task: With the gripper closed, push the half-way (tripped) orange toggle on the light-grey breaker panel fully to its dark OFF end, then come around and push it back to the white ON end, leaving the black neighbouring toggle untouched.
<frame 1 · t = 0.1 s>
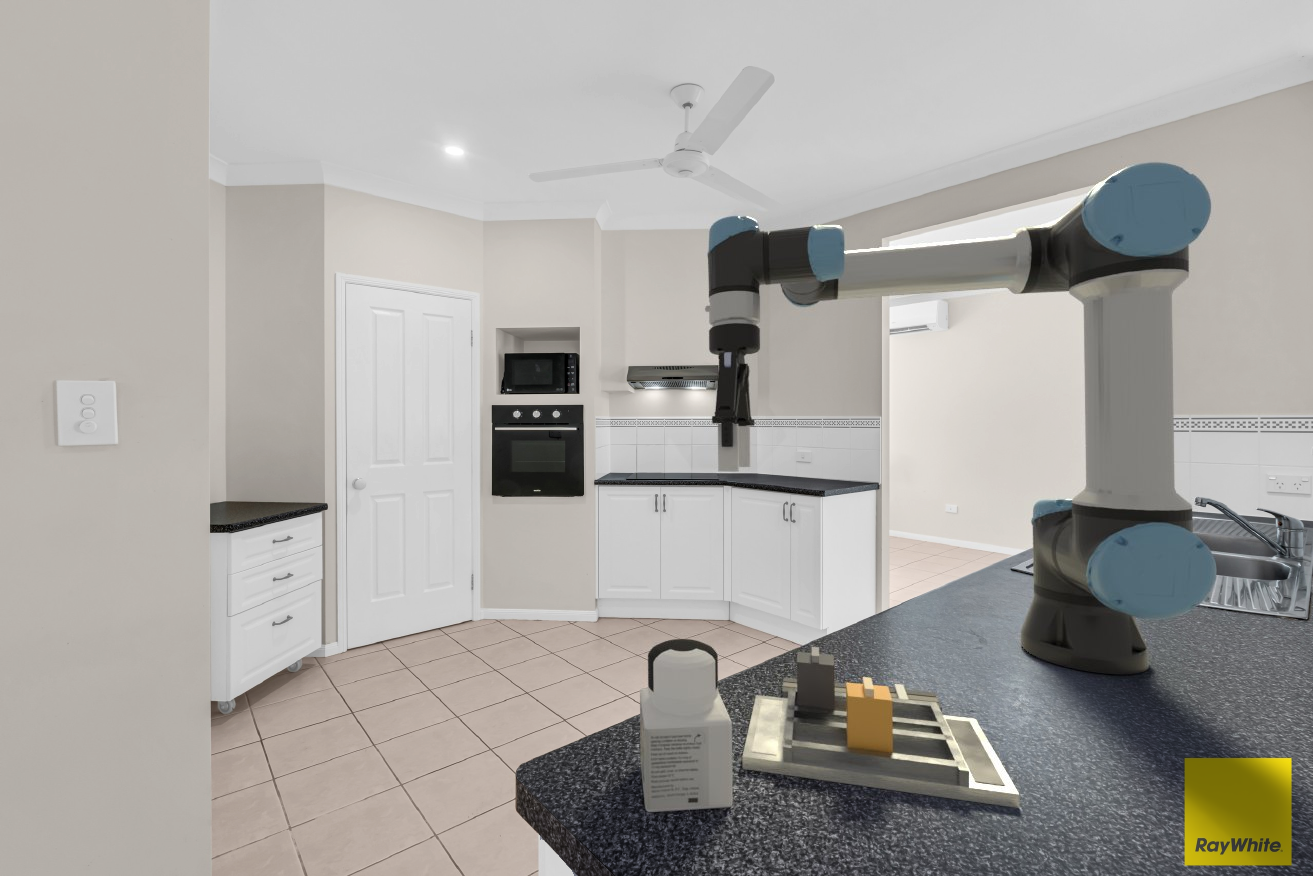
hand: (735, 469, 85), 28 cm above the countertop, fingers open, 13 cm apart
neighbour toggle: (815, 681, 65), point 5 cm above the countertop, slide at 10.0 cm
strapped plank bundle: (858, 701, 70), on the countertop
panel: (866, 748, 60), on the countertop
tripped toggle: (868, 717, 56), point 5 cm above the countertop, slide at 5.0 cm
container: (683, 787, 54), on the countertop
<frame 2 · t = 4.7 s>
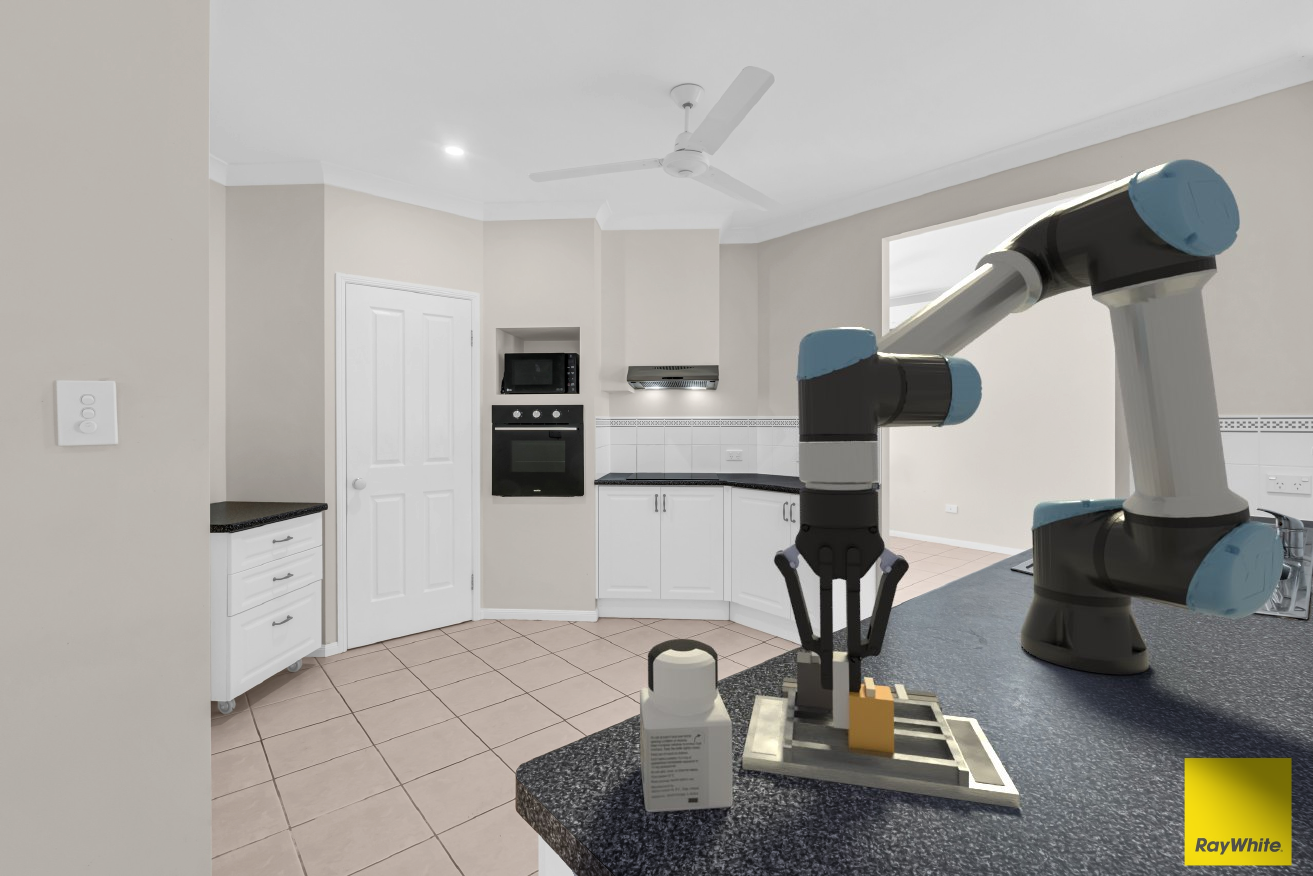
hand: (841, 721, 57), 4 cm above the countertop, fingers closed
tripped toggle: (869, 717, 56), point 5 cm above the countertop, slide at 4.9 cm, touching gripper
everything else where it was.
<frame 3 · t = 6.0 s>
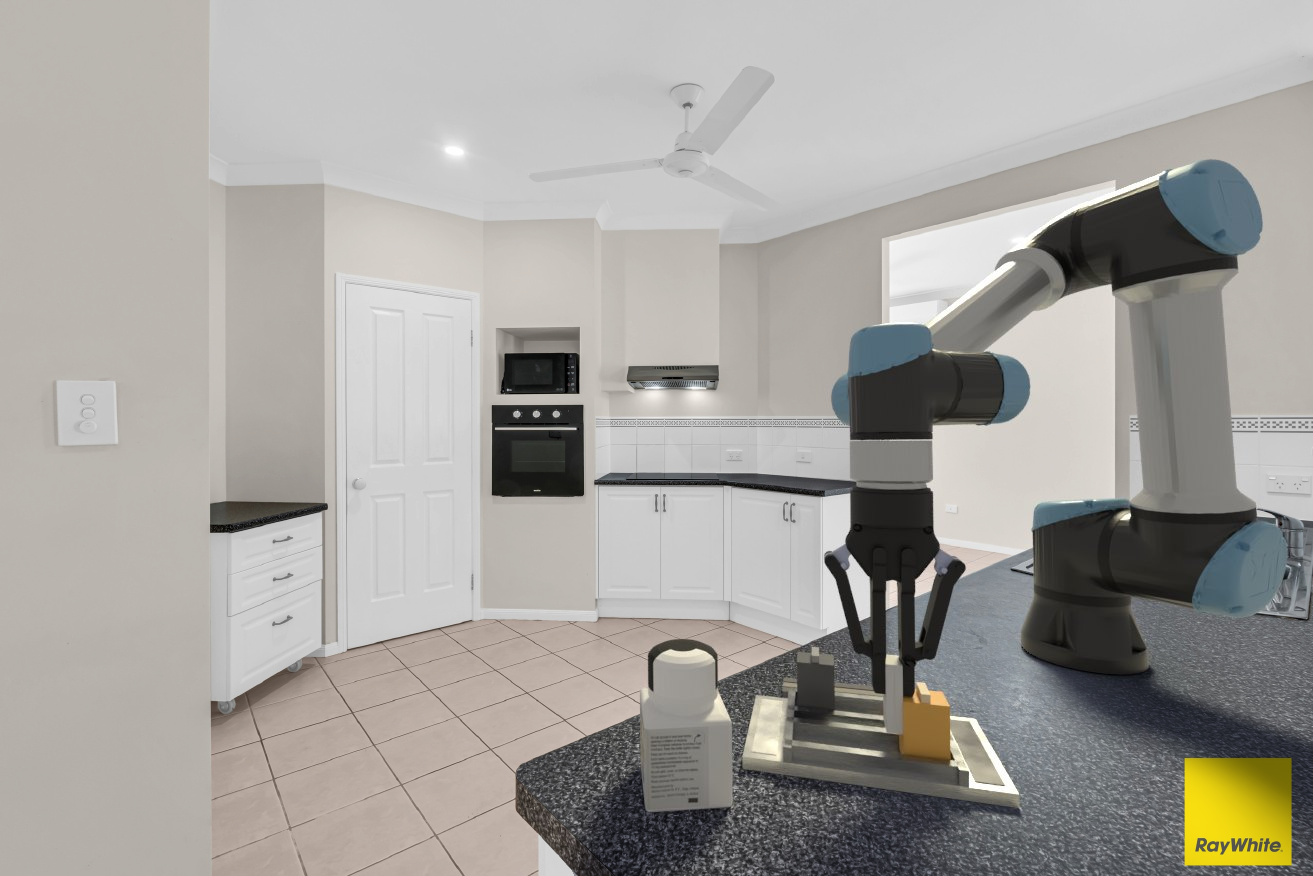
hand: (893, 726, 56), 4 cm above the countertop, fingers closed
tripped toggle: (923, 723, 55), point 5 cm above the countertop, slide at 0.0 cm, touching gripper
everything else where it was.
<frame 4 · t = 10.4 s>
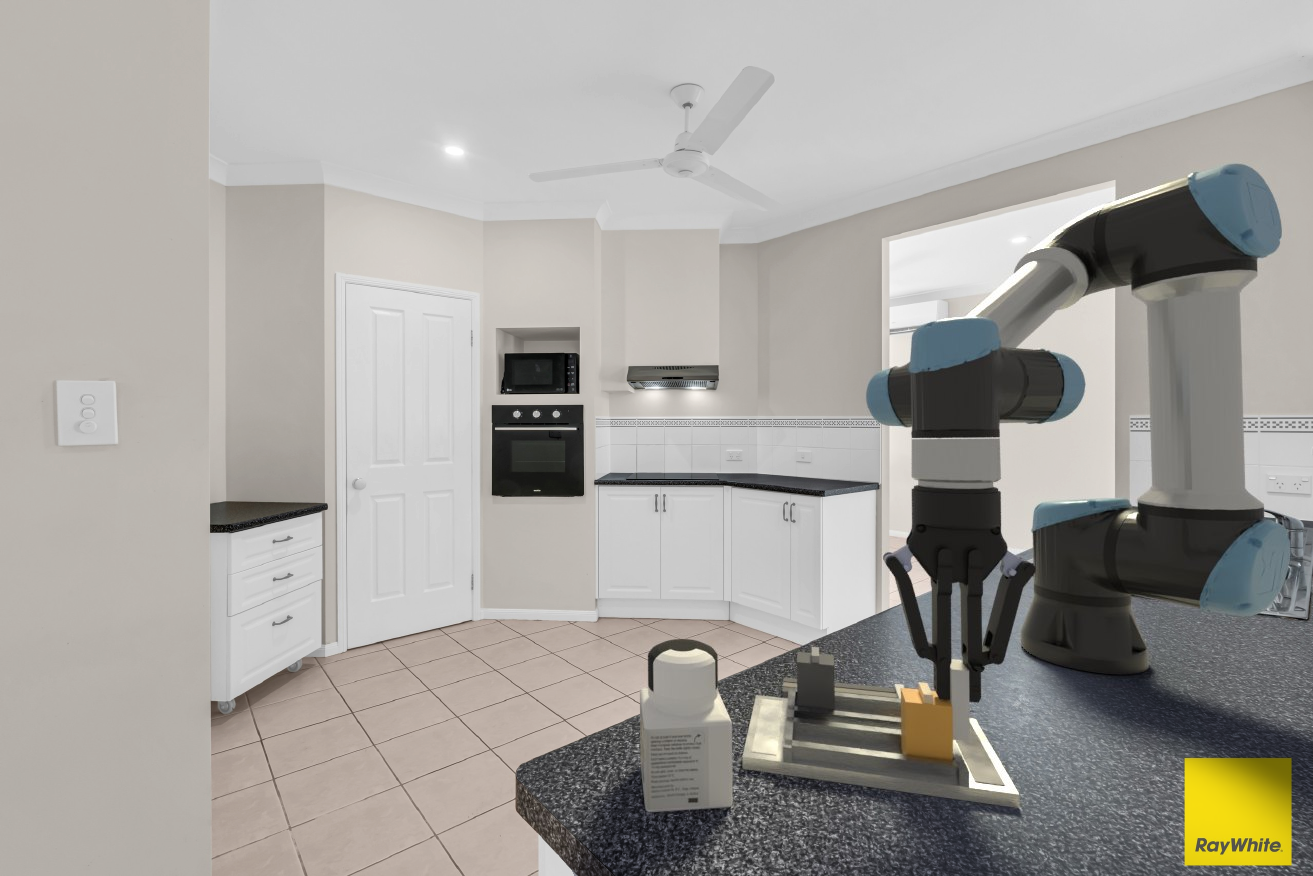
hand: (957, 733, 54), 4 cm above the countertop, fingers closed
nothing on the countertop moved.
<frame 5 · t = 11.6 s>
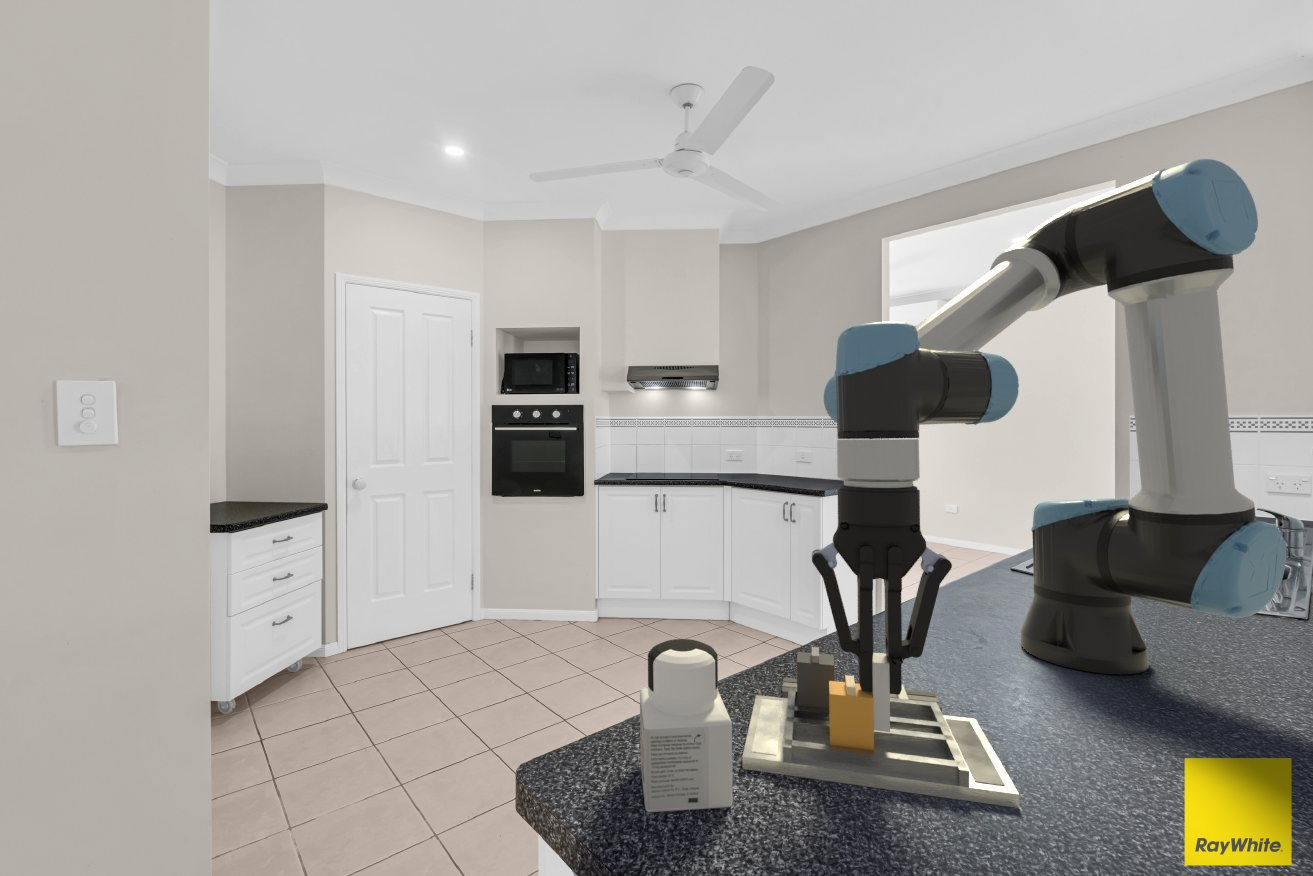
hand: (880, 724, 56), 4 cm above the countertop, fingers closed
tripped toggle: (850, 715, 57), point 5 cm above the countertop, slide at 6.7 cm, touching gripper
everything else where it was.
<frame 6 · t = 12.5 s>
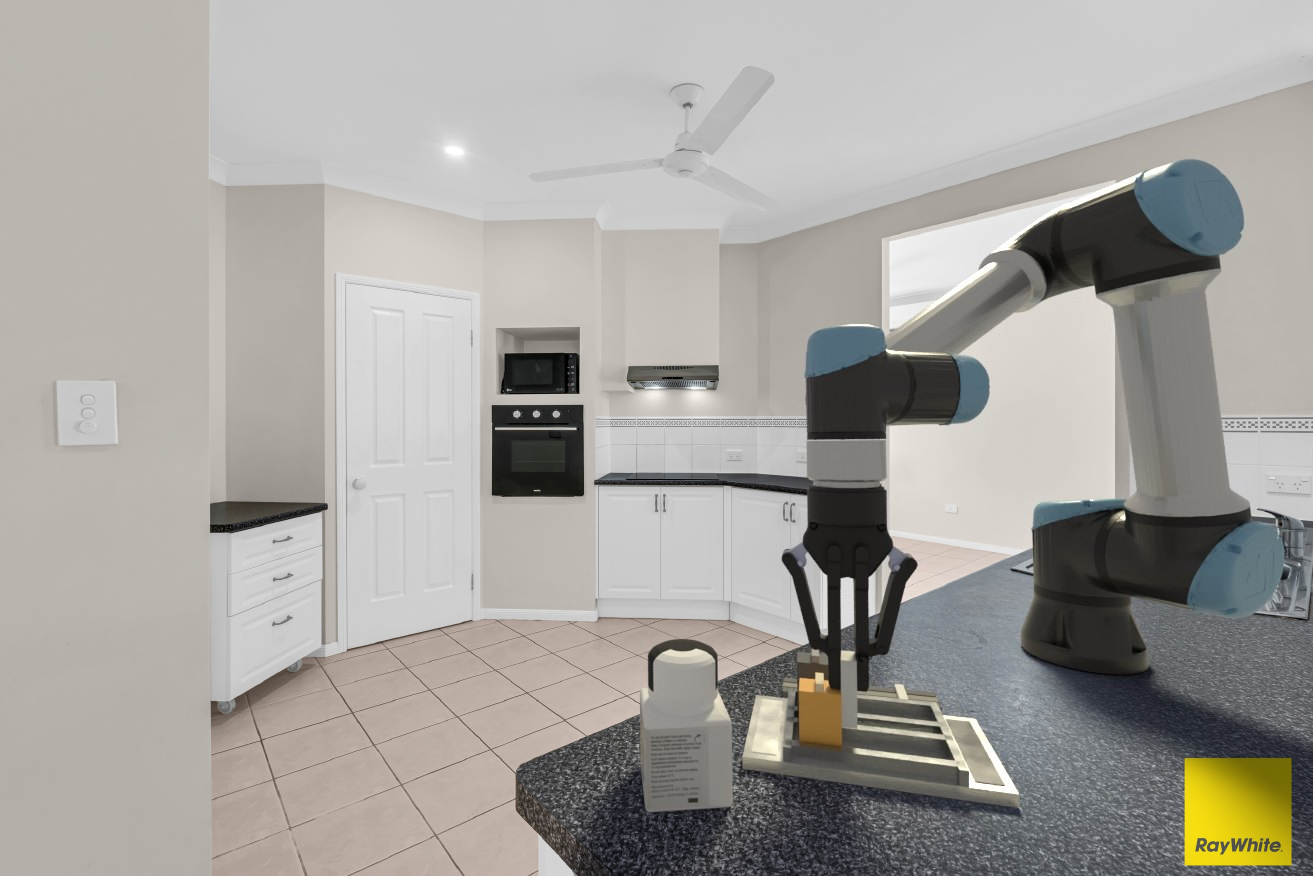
hand: (848, 721, 57), 4 cm above the countertop, fingers closed
tripped toggle: (819, 712, 58), point 5 cm above the countertop, slide at 9.6 cm, touching gripper
everything else where it was.
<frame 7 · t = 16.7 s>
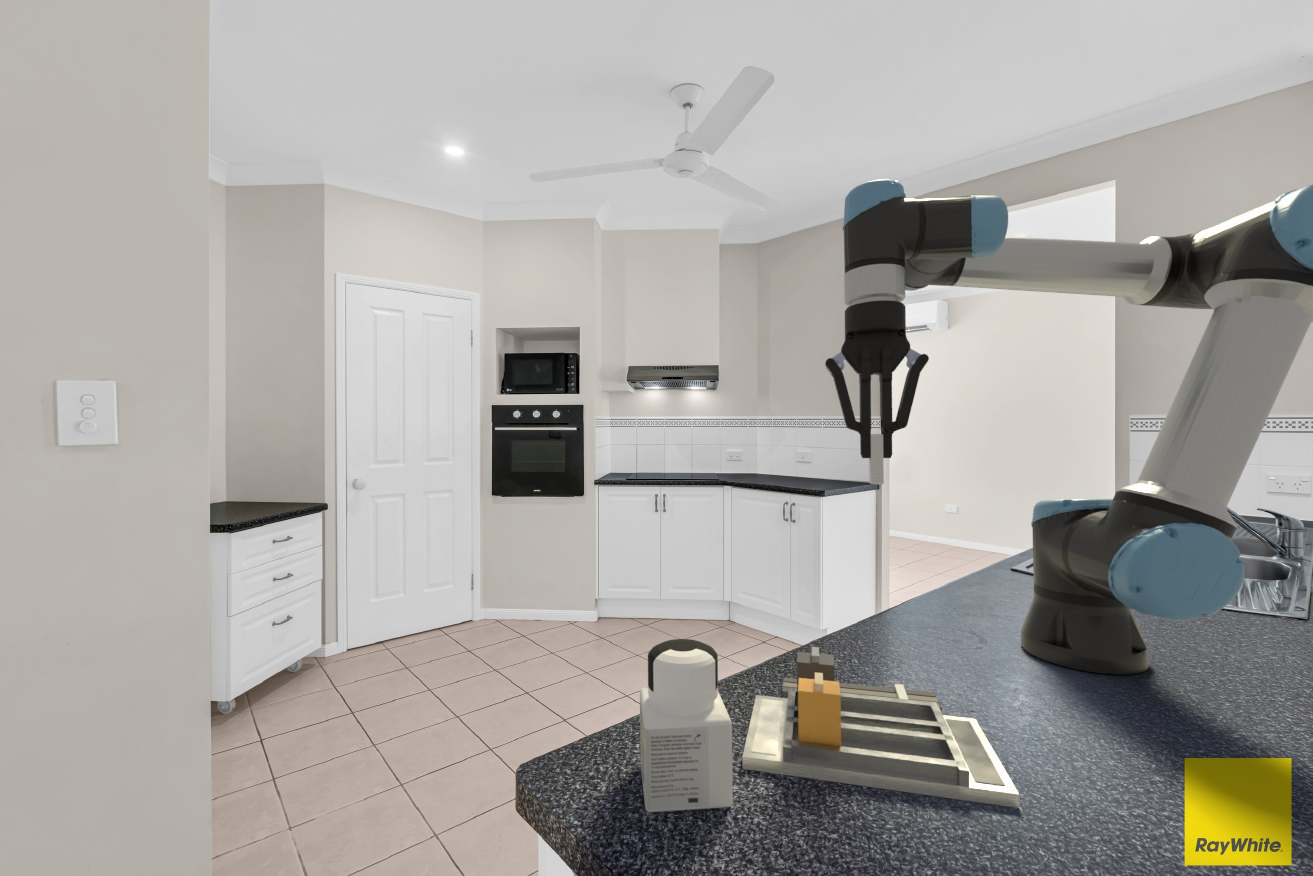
hand: (876, 483, 75), 26 cm above the countertop, fingers closed
tripped toggle: (819, 712, 58), point 5 cm above the countertop, slide at 9.7 cm
everything else where it was.
at the end: tripped toggle slide at 9.7 cm; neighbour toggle slide at 10.0 cm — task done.
